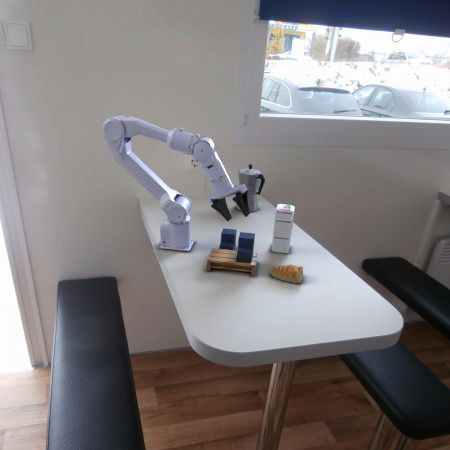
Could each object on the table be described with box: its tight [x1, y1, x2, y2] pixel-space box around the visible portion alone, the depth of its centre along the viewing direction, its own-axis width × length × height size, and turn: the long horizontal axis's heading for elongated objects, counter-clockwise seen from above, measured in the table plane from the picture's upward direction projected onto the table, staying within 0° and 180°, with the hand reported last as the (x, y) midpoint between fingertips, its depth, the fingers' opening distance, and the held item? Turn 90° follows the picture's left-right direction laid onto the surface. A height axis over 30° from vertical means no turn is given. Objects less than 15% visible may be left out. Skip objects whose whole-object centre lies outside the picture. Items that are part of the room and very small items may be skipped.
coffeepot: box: [235, 163, 266, 213], centre depth 164 cm, size 15×9×18 cm, turn 37°
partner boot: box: [236, 231, 256, 263], centre depth 119 cm, size 7×4×6 cm, turn 172°
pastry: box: [270, 264, 304, 284], centre depth 118 cm, size 9×7×4 cm
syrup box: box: [271, 203, 296, 254], centre depth 132 cm, size 6×6×14 cm
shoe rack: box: [206, 247, 258, 277], centre depth 121 cm, size 14×9×4 cm, turn 82°
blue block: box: [219, 227, 238, 251], centre depth 130 cm, size 7×4×6 cm, turn 172°
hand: (238, 217), depth 126 cm, fingers open, 7 cm apart
